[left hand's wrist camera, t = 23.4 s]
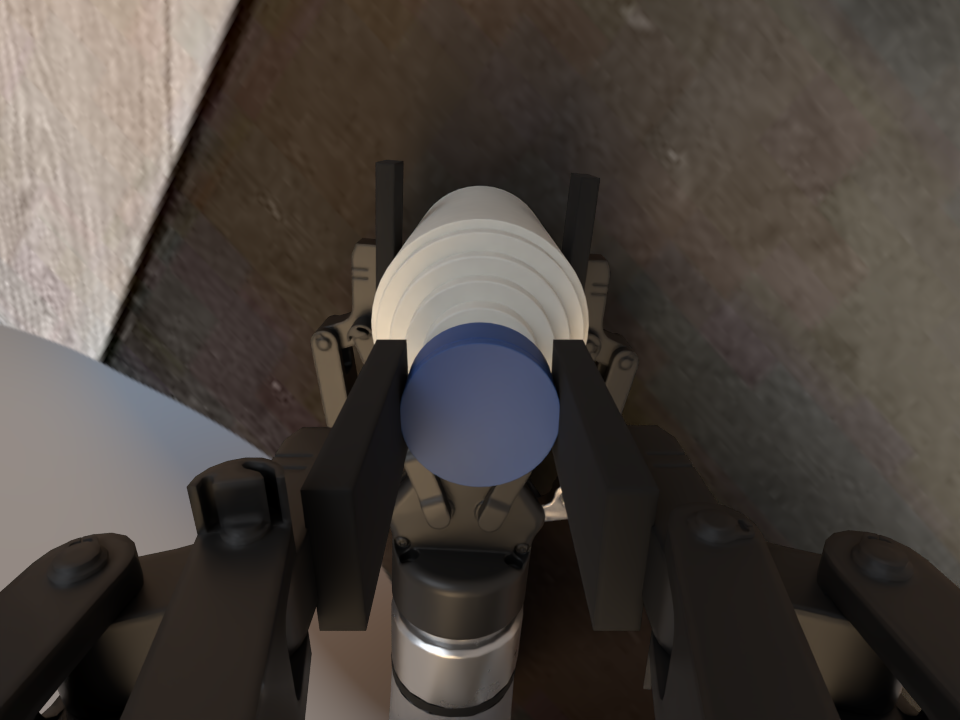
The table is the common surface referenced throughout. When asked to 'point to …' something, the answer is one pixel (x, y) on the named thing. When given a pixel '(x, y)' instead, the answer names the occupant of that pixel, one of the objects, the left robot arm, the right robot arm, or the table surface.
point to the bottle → (480, 275)
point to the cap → (480, 405)
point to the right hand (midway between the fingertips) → (487, 169)
